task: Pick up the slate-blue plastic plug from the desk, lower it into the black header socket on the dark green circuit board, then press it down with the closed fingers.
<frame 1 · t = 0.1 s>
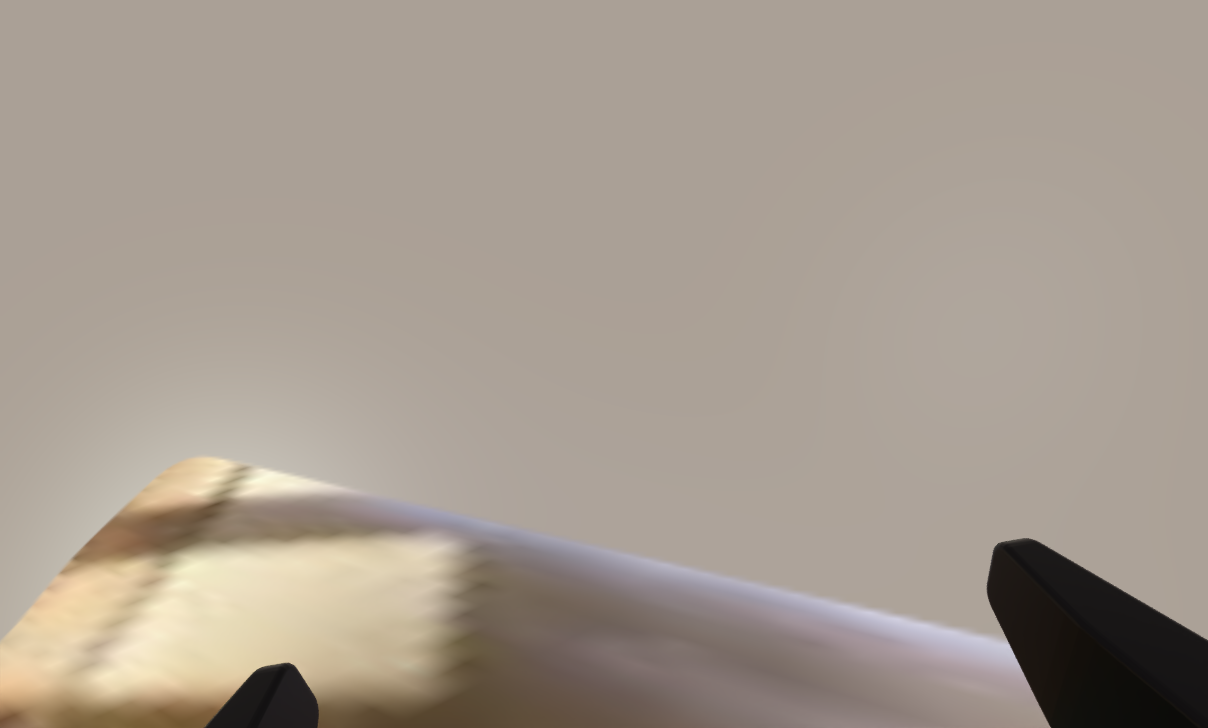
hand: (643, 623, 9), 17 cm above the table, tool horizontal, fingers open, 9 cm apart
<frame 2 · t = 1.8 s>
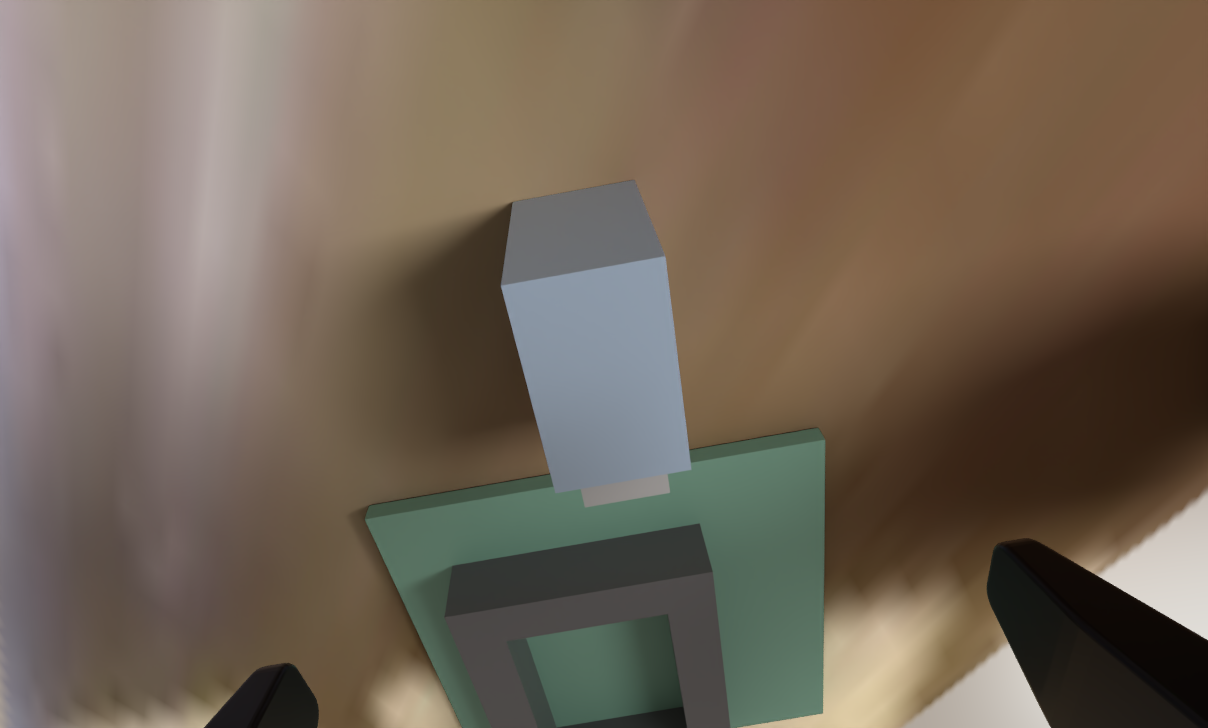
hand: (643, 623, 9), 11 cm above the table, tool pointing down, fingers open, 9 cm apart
header socket: (602, 638, 25), resting on circuit board
circuit board: (625, 616, 24), on the table
plug: (591, 284, 18), on the table
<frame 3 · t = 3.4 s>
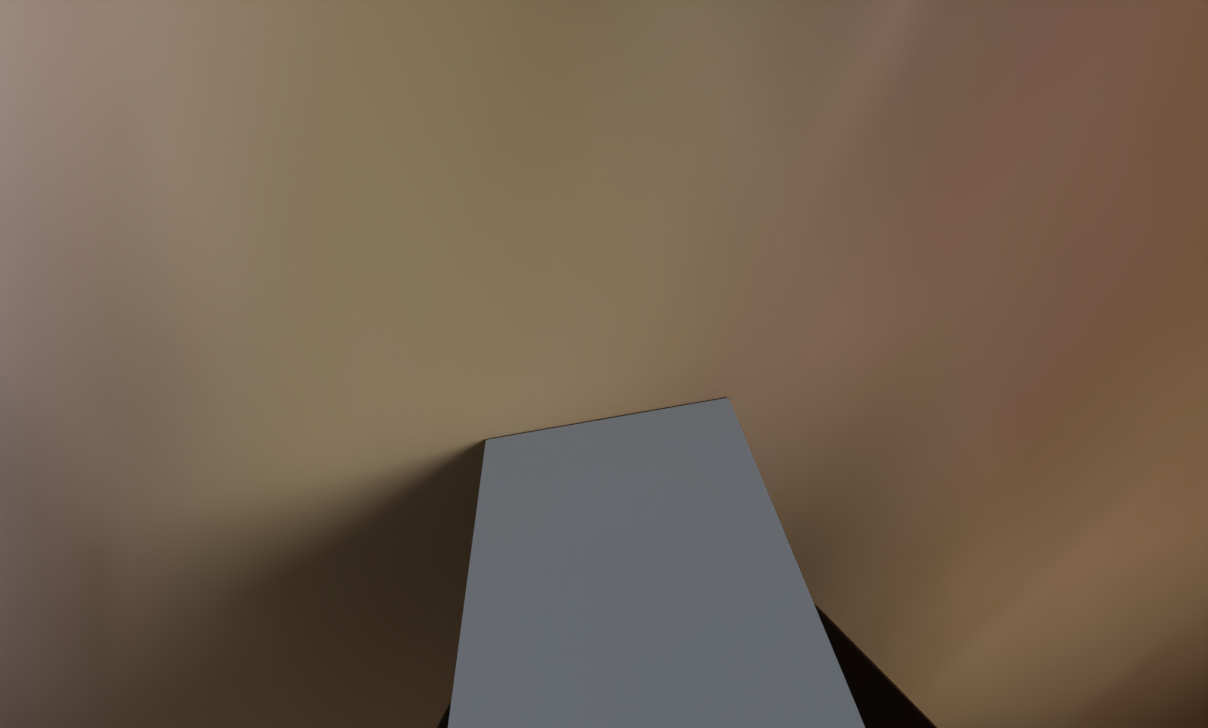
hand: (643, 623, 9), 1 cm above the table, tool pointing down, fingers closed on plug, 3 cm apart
plug: (634, 561, 10), on the table, touching gripper
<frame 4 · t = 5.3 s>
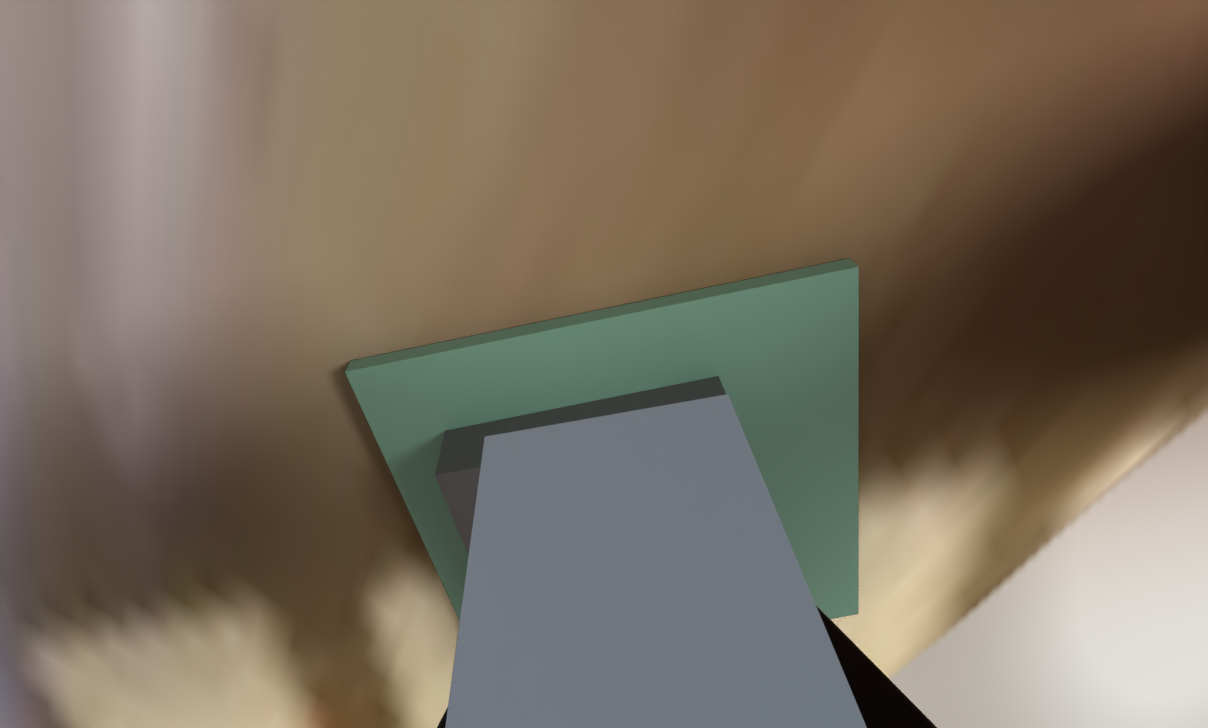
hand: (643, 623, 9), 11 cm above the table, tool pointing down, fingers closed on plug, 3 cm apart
header socket: (614, 526, 23), resting on circuit board
circuit board: (638, 498, 22), on the table
plug: (634, 559, 10), point 10 cm above the table, touching gripper
when the fingers open (3 cm above the table, at t = 7.2 s): plug drops 1 cm, resting on circuit board.
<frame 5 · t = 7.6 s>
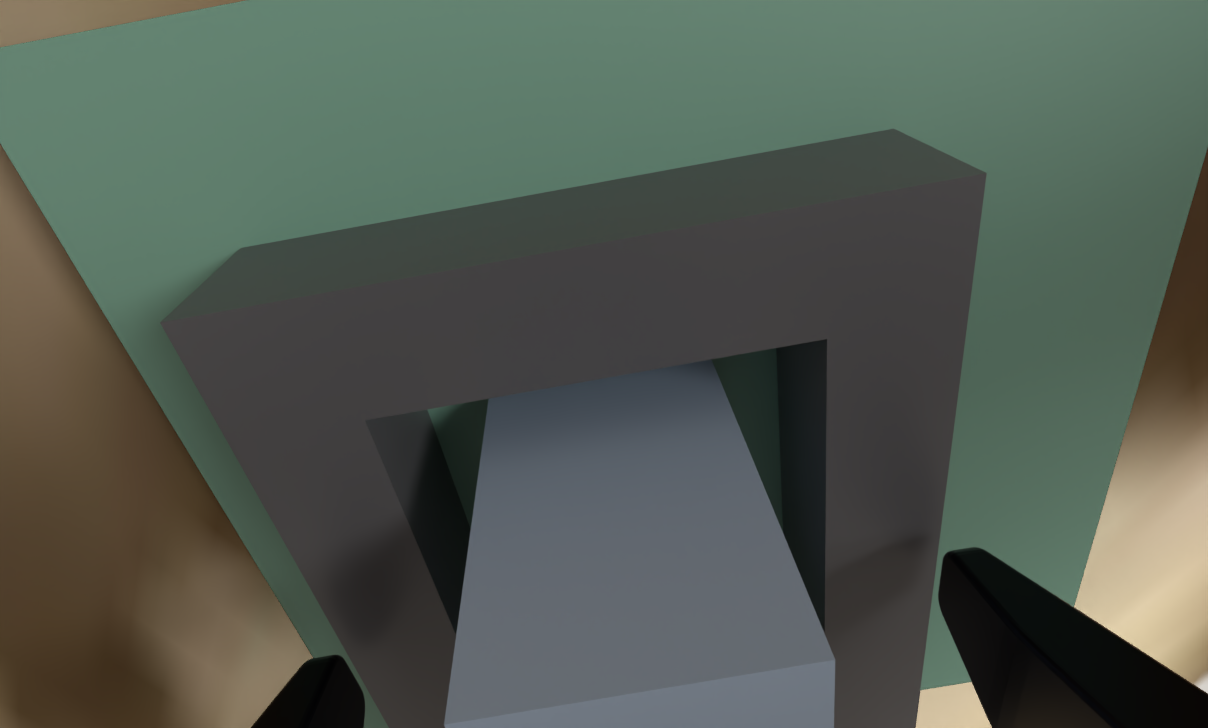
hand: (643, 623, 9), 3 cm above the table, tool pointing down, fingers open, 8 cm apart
header socket: (625, 495, 12), resting on circuit board
circuit board: (677, 439, 11), on the table
plug: (623, 494, 11), point 1 cm above the table, touching circuit board
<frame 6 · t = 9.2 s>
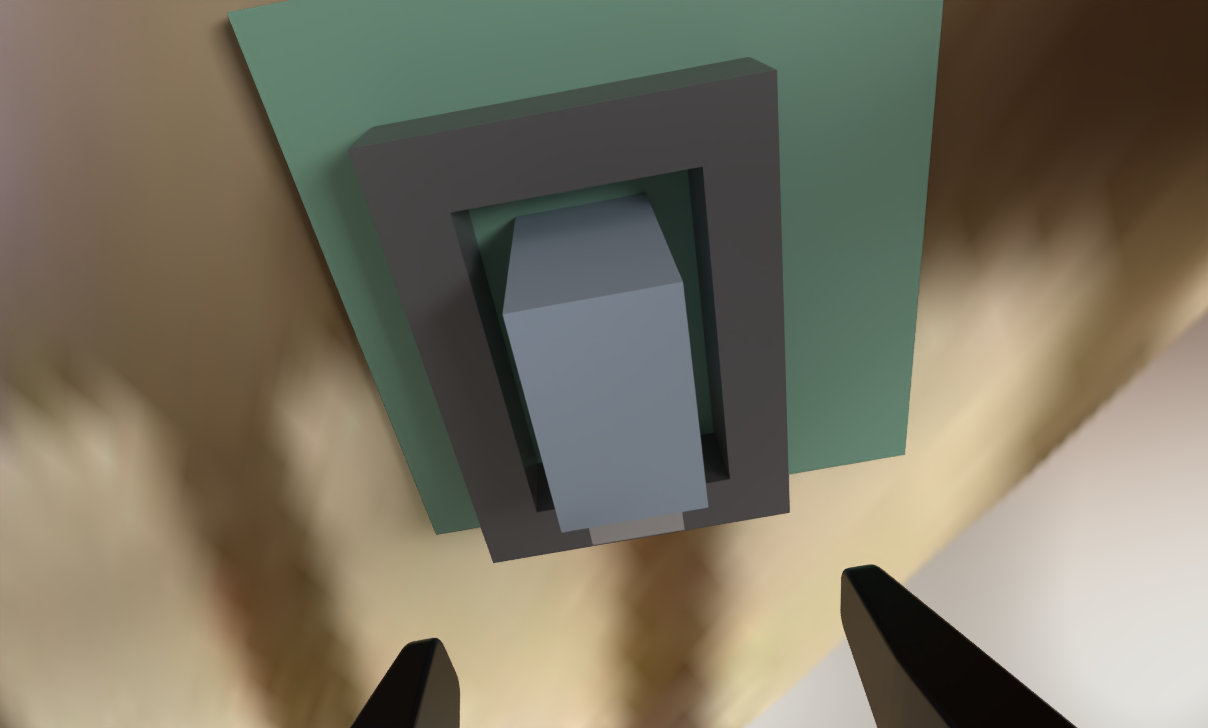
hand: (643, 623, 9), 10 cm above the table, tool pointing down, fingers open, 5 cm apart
header socket: (600, 312, 17), resting on circuit board
circuit board: (633, 269, 17), on the table
plug: (598, 302, 17), point 1 cm above the table, touching circuit board
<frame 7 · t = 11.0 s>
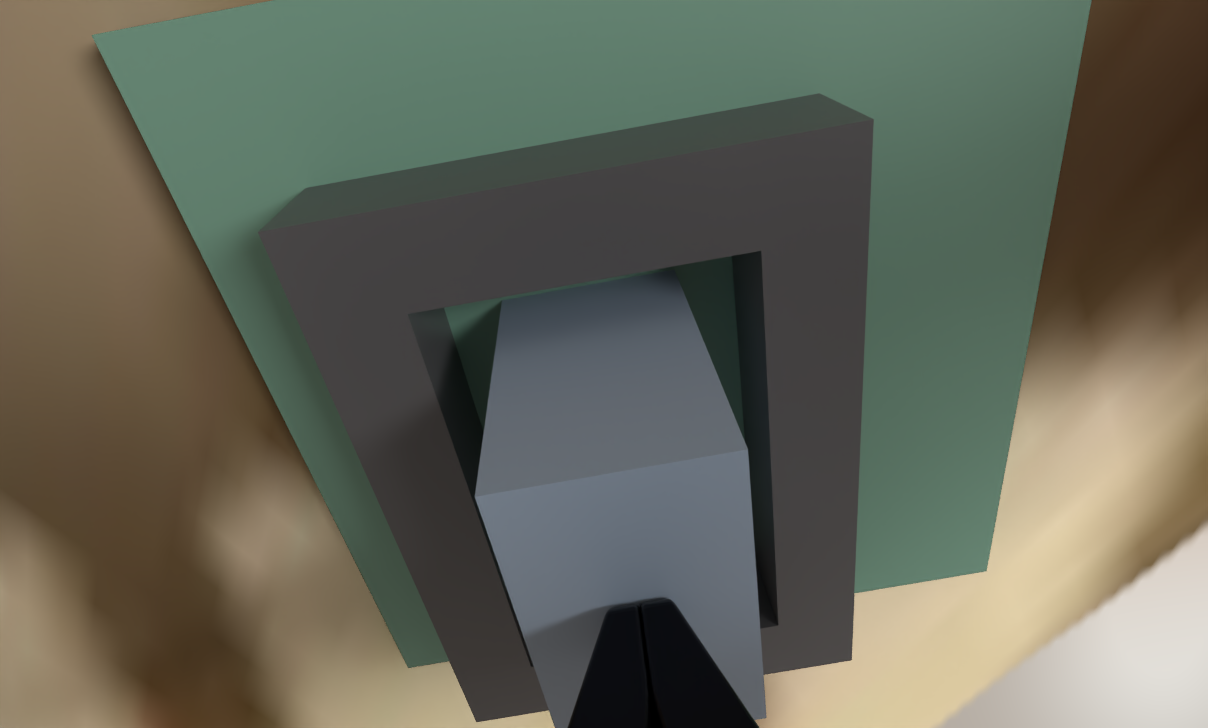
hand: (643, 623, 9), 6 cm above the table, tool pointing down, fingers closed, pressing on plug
header socket: (612, 409, 14), resting on circuit board
circuit board: (655, 359, 13), on the table
plug: (610, 403, 13), point 1 cm above the table, touching circuit board, gripper
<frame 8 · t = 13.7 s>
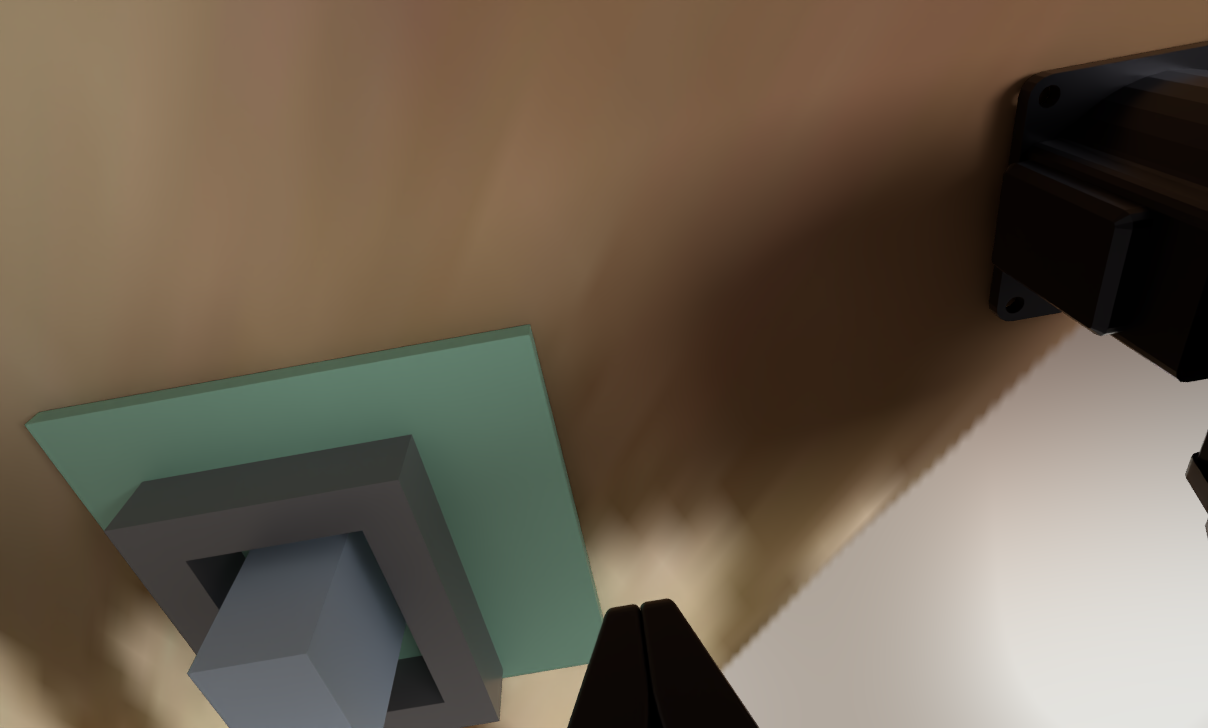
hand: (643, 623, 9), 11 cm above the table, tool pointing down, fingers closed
header socket: (349, 572, 23), resting on circuit board
circuit board: (367, 546, 22), on the table
plug: (338, 575, 22), point 1 cm above the table, touching circuit board
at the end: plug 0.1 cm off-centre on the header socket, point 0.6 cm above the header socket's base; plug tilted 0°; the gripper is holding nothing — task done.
